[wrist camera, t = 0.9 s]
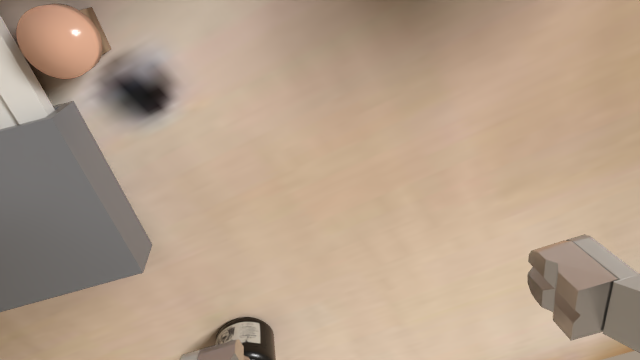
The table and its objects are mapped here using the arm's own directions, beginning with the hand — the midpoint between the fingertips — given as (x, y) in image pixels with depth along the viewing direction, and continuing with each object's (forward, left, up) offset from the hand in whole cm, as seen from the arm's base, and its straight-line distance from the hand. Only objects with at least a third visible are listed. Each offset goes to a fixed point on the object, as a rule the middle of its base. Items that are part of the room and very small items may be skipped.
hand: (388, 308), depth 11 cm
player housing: (+10, -32, -37) cm, 50 cm away
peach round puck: (-6, -19, -33) cm, 39 cm away
